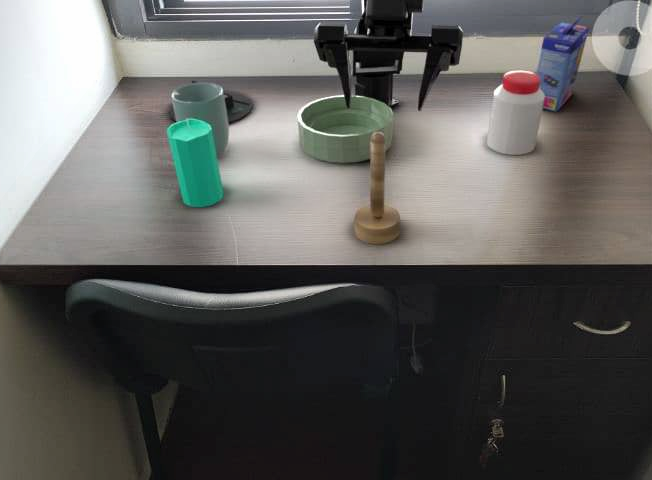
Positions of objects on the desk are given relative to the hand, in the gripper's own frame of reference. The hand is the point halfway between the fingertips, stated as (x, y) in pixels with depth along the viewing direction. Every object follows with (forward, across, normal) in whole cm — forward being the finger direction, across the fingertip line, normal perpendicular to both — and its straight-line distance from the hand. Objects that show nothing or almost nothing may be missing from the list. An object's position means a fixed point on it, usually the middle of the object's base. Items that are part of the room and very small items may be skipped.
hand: (383, 108), depth 78 cm
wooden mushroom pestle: (+15, 0, +4) cm, 16 cm away
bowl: (-2, -7, +21) cm, 23 cm away
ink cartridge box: (-16, +28, +36) cm, 48 cm away
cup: (+2, -29, +18) cm, 34 cm away
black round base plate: (-10, -34, +29) cm, 46 cm away
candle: (+11, -26, +8) cm, 29 cm away
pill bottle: (-4, +20, +23) cm, 30 cm away
